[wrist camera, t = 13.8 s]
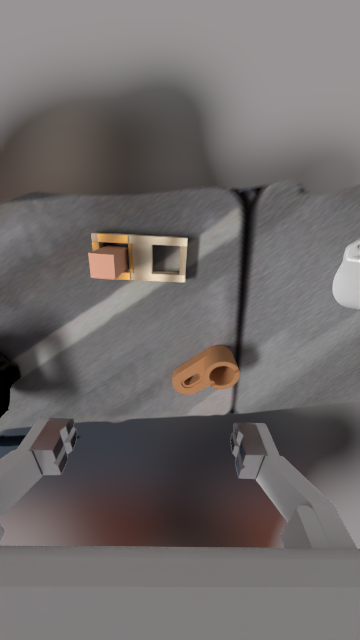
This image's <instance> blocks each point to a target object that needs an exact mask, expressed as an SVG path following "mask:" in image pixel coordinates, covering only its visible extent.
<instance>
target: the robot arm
mask: <svg viewBox="0 0 360 640" xmlns="http://www.w3.org/2000/svg"><path fill="white" fill-rule="evenodd" d="M359 244H360V239H359V240H357V241H355V242H353V243H351V244H349V245H348V246H347V248H346V250H345V253H344V258H343V262H342V264H341V266H340V267H339V269H338V271H337V273H336V275H335V278H334V281H333V295H334V297H335V299H336V301H337V302H338V303H339V304H341V305H342V306H344V307H348V308H354V309H359V310H360V247H359V248H357V246H358V245H359ZM73 425H74V420H73V419H67V418H46V417H41V418H40V419H38V420H37V421H36V423H35V424H34V426H33V427H32V429H31V430H30V431H29V433H28V434H27V436H26V437H25V438H24V440H23V441H22V443H21V444H20V446H19V447H18V448H17V450H13V451H11V452H10V453H8V454H7V455H6V456H4V457H3V458H1V459H0V518H1V517H2V516H3V515H4V514H5V513H6V512H7V511H8V510H9V509H10V508H11V507H12V506H13V505H14V504H15V503H16V502H17V501H18V500H19V499H20V498H21V497H22V496H23V495H24V494H25V493H26V492H27V491H28V490H29V489H30V488H31V487H32V486H33V485H34V484H35V483H36V482H37V481H38V480H39V479H40V478H41V477H42V475H61V474H62V472H63V470H64V467H65V465H66V463H67V461H68V457H67V454H68V453H70V452H71V451H72V450H73V448H74V446H75V443H76V439H77V431H76V429H75V428H74V427H73ZM233 429H234V432H233V433H232V435H231V448H232V452H233V454H234V456H235V457H236V461H235V466H236V470H237V474H238V478H246V479H256V481H257V482H258V483H259V485H260V486H261V487H262V488H263V490H264V491H265V493H266V494H267V495H268V497H269V498H270V499H271V501H272V502H273V503H274V505H275V506H276V507H277V509H278V510H279V512H280V513H281V514H282V515H283V517H284V518H285V520H286V521H287V522H288V523H287V525H286V526H285V528H284V530H283V531H282V533H281V539H282V542H283V546H284V548H211V547H210V548H209V547H207V548H206V547H204V548H203V547H105V546H0V640H360V549H357V547H356V545H355V543H354V542H353V540H352V538H351V536H350V534H349V532H348V530H347V529H346V527H345V525H344V523H343V521H342V519H341V518H340V516H339V514H338V512H337V510H336V508H335V507H334V505H333V504H332V503H331V502H330V501H329V500H328V499H327V498H326V497H325V496H324V495H323V494H322V493H321V492H319V490H317V489H316V488H315V487H314V486H313V485H312V484H311V483H310V482H309V481H308V480H307V479H306V478H305V477H304V476H303V475H302V474H300V472H298V471H297V470H296V469H295V468H294V467H293V466H292V465H291V464H290V463H289V462H288V461H287V460H286V459H285V458H284V457H283V456H279V454H278V451H277V449H276V447H275V444H274V442H273V440H272V437H271V435H270V433H269V431H268V428H267V426H266V425H265V424H264V423H235V424H234V426H233ZM3 534H4V528H3V527H2V526H1V524H0V540H1V538H2V536H3Z"/></svg>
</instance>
